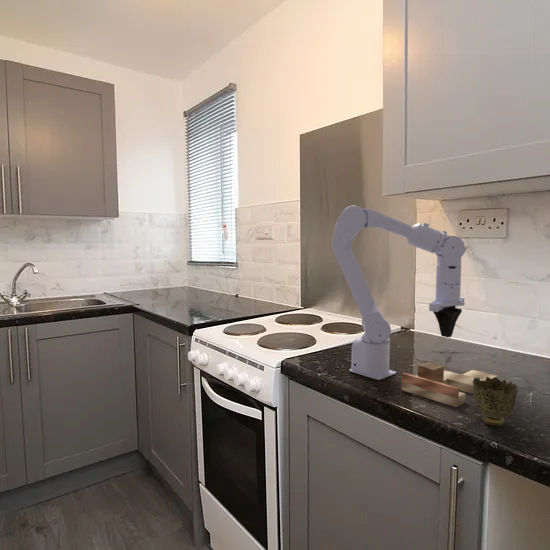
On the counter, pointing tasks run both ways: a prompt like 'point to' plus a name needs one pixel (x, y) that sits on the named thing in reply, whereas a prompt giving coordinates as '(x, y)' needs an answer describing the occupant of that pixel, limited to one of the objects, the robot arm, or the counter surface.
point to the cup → (494, 399)
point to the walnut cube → (431, 372)
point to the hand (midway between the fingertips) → (446, 336)
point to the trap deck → (443, 386)
